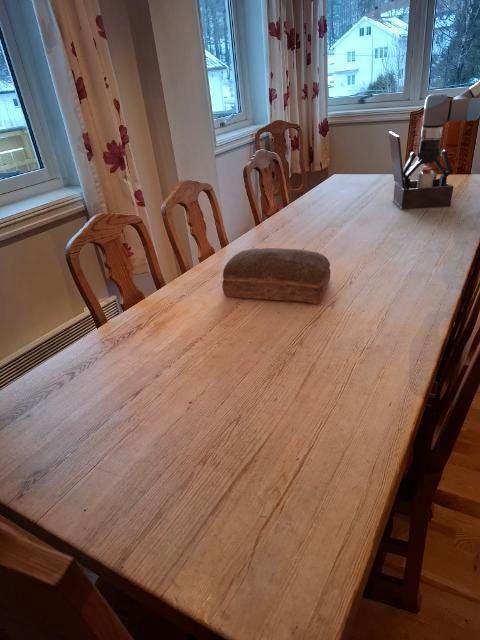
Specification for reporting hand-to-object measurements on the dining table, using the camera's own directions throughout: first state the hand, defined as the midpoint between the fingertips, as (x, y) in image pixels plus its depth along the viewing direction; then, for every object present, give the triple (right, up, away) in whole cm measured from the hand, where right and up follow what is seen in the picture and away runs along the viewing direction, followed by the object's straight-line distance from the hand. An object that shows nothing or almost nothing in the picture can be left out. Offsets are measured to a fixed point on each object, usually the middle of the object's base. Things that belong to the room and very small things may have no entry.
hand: (423, 193), depth 179 cm
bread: (-66, -44, -53) cm, 95 cm away
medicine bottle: (+12, +16, +36) cm, 41 cm away
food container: (+9, +6, +19) cm, 21 cm away
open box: (+1, -3, +4) cm, 5 cm away
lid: (-12, +12, -4) cm, 18 cm away
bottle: (+1, -4, +2) cm, 4 cm away
